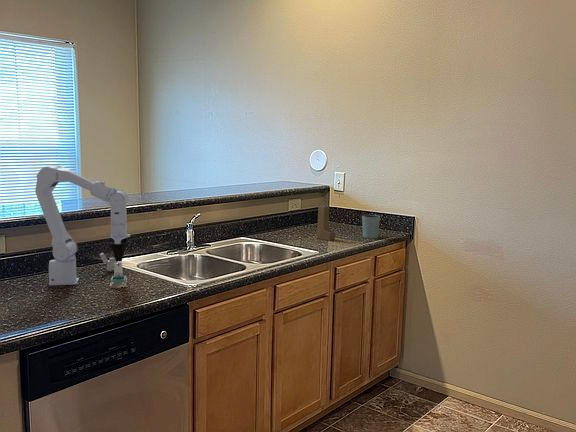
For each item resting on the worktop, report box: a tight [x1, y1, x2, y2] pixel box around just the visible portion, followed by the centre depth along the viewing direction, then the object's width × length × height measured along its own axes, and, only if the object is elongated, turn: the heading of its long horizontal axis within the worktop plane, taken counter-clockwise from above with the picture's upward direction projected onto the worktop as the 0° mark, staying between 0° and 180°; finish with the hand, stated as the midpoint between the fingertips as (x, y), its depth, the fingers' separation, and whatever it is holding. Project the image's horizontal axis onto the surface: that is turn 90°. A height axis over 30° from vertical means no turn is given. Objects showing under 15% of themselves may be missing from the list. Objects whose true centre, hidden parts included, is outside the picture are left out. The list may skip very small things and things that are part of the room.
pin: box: [113, 262, 124, 280], centre depth 209 cm, size 3×3×7 cm
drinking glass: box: [361, 214, 381, 239], centre depth 312 cm, size 10×10×12 cm
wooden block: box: [316, 204, 336, 242], centre depth 302 cm, size 9×4×18 cm, turn 47°
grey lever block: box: [99, 252, 117, 272], centre depth 227 cm, size 7×2×8 cm, turn 133°
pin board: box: [109, 275, 128, 289], centre depth 209 cm, size 6×9×2 cm, turn 13°
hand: (119, 258), depth 210 cm, fingers open, 7 cm apart
